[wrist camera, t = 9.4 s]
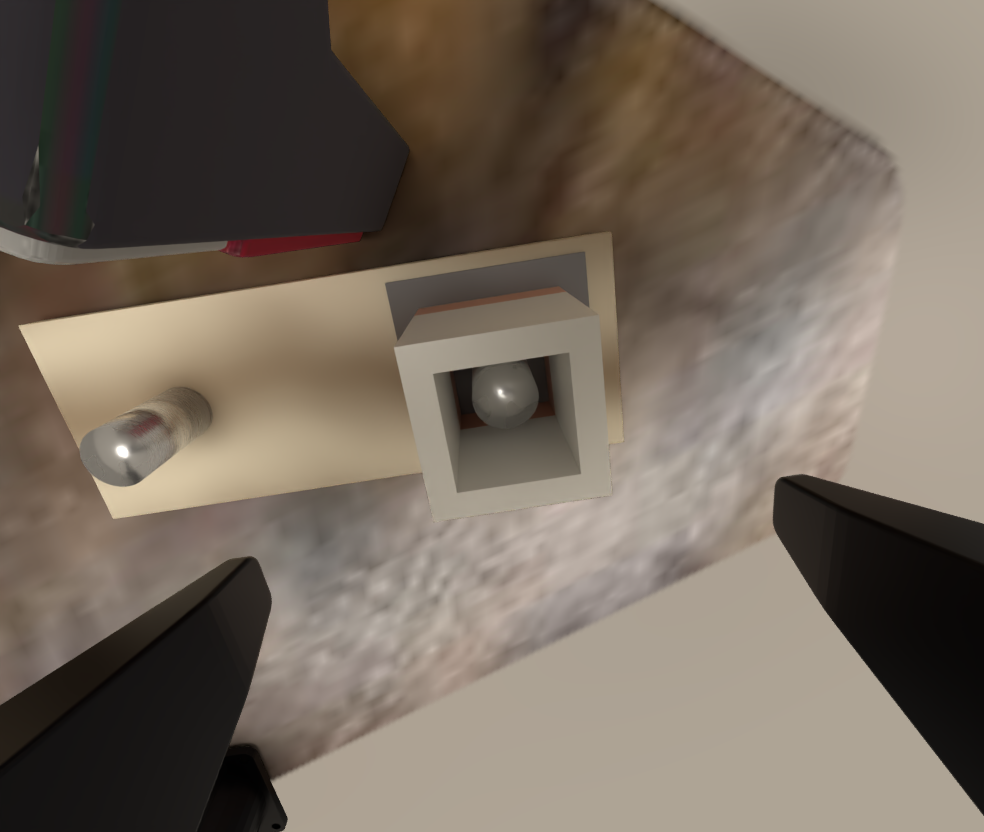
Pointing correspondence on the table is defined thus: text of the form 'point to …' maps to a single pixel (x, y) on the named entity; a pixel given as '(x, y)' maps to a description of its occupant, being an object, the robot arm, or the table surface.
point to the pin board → (299, 369)
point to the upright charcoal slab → (184, 131)
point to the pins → (187, 414)
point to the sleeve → (523, 449)
